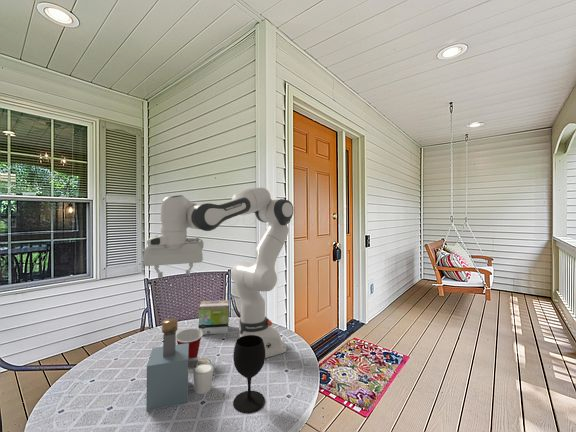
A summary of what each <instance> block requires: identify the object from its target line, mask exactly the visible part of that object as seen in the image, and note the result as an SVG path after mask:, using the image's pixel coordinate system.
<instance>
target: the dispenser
mask: <svg viewBox="0 0 576 432" xmlns="http://www.w3.org/2000/svg"><path fill="white" fill-rule="evenodd" d="M176 332H177V331H175V332H173V333H172V334H169V335H167V333H163V336H162V337H163V338H162V339H163V342H162V345H163V346H159V347H152V349H151V352H150V355H149V359H148V362H147V363H146V364H147V365H146V395H145V396H146V401H145V402H146V405H145V406H146V407H145V408H146V409H145V410H146V412H150V411H155V410H159V409H163V408H168V407H169V408H170V407H174V406H178V405H183V404H188V403H189V400H188V399H189V367H192V368H193V369H194V368H197V366H198V362H199V361H198V356H197V357H195V358H189V343H185V344H178V343H177V340H176V334H177V333H176ZM176 343H177V344H176Z"/></svg>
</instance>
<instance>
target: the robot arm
mask: <svg viewBox="0 0 576 432" xmlns="http://www.w3.org/2000/svg"><path fill="white" fill-rule="evenodd" d="M252 213H254V215H255V217H256V219H257V220H258V221H259V222H262V223H268V224H267V229H266V230H265V232H263V235H262V237H261V238H260V240H259V242H258V243H257V245H256V247H255V251H254V252H255V255H256V260H255V261H254V263H252V262H251V263H250V262H239V263H238V262H237V263H235V265H233V267H232V269H231V271H230V278H231V280H232V281H233V283H234V284H235V287H236V291H237V293H238V299H239V304H240V318H239V323H238V331H239V337H238V338H240V337H242V336H246V335H256V336H259V337H261V338H262V339H263V342H264V346H265V359H267V358H271V357H274V356H277V355H280V354H283V353H284V354H285V353H286V352H287V344H286V343H285V342H284V341H283V340H282V339H281V338H282V337H281V335H280V333H279V332H278V331H277V329H275V328H274V327H273V326H272V325H273V322H272V321H271V320H270V319H269V318H268V317H267V316H266V302H265V299H264V298H263V296H262V294H261V292H271V291H272V290H274V289H275V286H276V285H277V283H278V282H277V281H278V275H277V273H276V270H275V269H276V268H275V267H276V262H277V259H278V258H279V255H280V253H281V251H282V249H283V248H284V245H285V243H286V240H287V238H288V234H289V226H288V225H289V223H291V220H292V218H293V216H294V205H293V204H292V202H291V201H290V200H288V199H286V198H285V199H284V198H280V199H272V198H271V193H270V191H269V190H268V189H267V188H265V187H252V188H247V189H246V188H245V189H243V190H241V191H238V192H235V193H233V195H232V197H231V201H227V202H224V203H220V204H214V203H209V202H208V203H200V204H198V203H195V202H193V201H192V200H189V198H186V197H185V196H184V195H182V194H178V195H170V196H166V197H164V198H163V199H162V201H161V205H160V222H161V229H160V234H159V235H156V236H153V237H150V238H148V239H147V241H146V245H147V246H146V247H145V249H144V251H143V259H142V263H143V266H145V267H153V266H154V270H155V272H156V273H157V278H159V279H161V278H163V275H164V274H163V273H164V272H163V271H160V269H159V268H160V266H166V265H167V266H168V265H181V264H182V265H184V264H188V265H189V267H188V269H186V270H185V276H190V275H191V271H192V268H193V267H194V264H196V263H197V264H199V263H202V261H203V260H204V257H203V249H204V241H203V239H201V238H200V237H196V238H195V237H194V238H193V237H191V238H190V237H187V234H188V233H187V231H188V230H187V229H188V228H189V229H194V230H201V231H203V232H204V231H205V232H210V231H214V230H215V229H217V228H218V227H219V226H220V225H222V223H223V222H225V221H226V220H229V219H232V218H235V217H236V216H237V217H238V216H243V215H244V216H245V215H249V214H252Z"/></svg>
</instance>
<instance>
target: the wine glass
mask: <svg viewBox="0 0 576 432" xmlns="http://www.w3.org/2000/svg"><path fill="white" fill-rule="evenodd" d="M239 337H240V336H239ZM239 337H238V338H237V339H236V341H235V345H234V348H233V355H232V356H233V357H232V358H233V359H232V360H233V364H234V368H235V370H236V371H237V373H238V374H240V375H241V376H242V377H244V378H246V381H247V390H245V391H244V390H243V391H242V392H239V393H238V394H237V395H236V396H235V397H234V398H233V402H232V405H233V408H234V409H235V410H236V411H237V412H239V413H242V414H252V413H256V412H258V411H259V410H261V409H262V408H263V407H264V405H265V402H266V400H265V396H264V395H263V394H262V393H261V392H259V391H257V390H252V389H251V386H252V378H254V377H256V376H257V375H258V374H259V373H260V372H261V371H262V369H263V367H264V365H265V361H266V358H265V346H264V342H263V339H262V338H261V337H259V336H256V335H246V336H242V337H240V338H239Z"/></svg>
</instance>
